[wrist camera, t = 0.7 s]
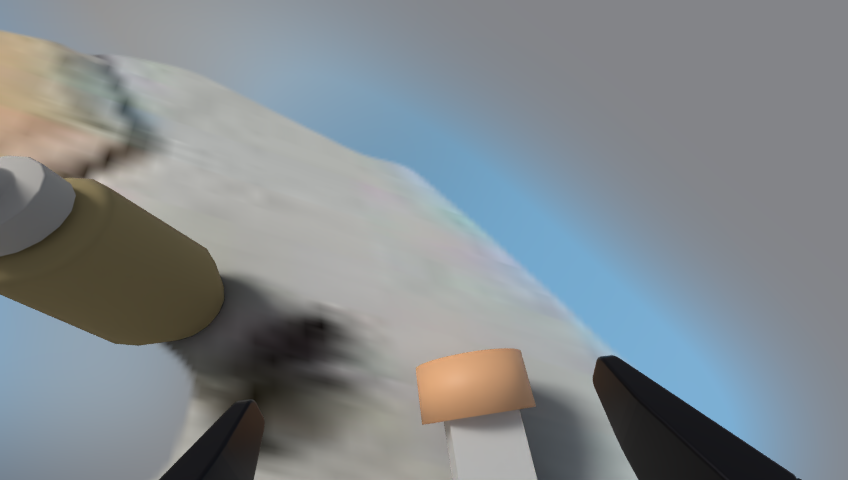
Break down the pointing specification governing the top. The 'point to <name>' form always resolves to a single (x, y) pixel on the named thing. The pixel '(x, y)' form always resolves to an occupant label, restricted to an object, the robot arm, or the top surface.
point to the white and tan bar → (480, 412)
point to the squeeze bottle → (100, 259)
